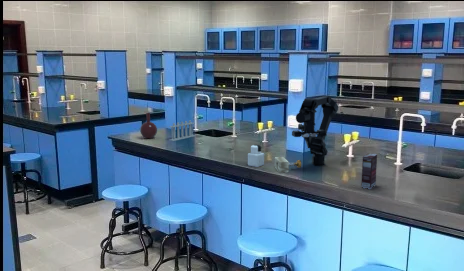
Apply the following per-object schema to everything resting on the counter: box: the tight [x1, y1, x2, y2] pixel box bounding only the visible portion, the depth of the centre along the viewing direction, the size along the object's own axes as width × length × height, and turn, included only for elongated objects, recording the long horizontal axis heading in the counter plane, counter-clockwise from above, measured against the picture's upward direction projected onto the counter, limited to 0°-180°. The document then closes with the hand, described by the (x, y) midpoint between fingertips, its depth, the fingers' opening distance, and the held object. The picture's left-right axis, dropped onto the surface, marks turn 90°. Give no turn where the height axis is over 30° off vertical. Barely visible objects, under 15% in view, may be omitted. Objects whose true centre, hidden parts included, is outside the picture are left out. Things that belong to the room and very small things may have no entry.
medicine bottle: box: [247, 144, 265, 168], centre depth 246 cm, size 7×7×12 cm
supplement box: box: [360, 152, 378, 190], centre depth 204 cm, size 9×5×16 cm, turn 144°
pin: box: [289, 159, 302, 169], centre depth 237 cm, size 12×4×4 cm, turn 99°
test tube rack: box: [168, 120, 196, 142], centre depth 328 cm, size 25×4×13 cm, turn 142°
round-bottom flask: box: [139, 112, 158, 139], centre depth 328 cm, size 13×13×20 cm
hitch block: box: [273, 156, 290, 174], centre depth 236 cm, size 5×12×6 cm, turn 9°
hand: (308, 148), depth 236 cm, fingers closed
